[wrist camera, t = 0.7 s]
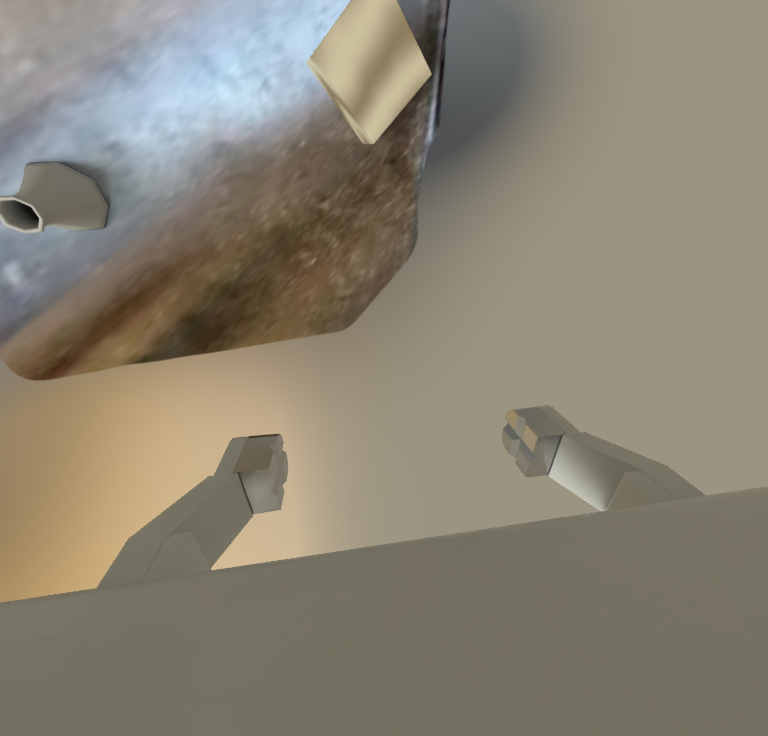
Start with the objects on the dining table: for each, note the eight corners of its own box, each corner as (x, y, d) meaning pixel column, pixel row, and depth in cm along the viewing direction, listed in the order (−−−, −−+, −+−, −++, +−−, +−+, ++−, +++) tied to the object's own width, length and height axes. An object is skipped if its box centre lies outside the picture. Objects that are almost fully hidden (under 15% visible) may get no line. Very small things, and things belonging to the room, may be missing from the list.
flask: (102, 172, 34) (61, 182, 27) (115, 237, 38) (82, 261, 30) (12, 150, 31) (-63, 155, 23) (36, 223, 35) (-23, 247, 27)
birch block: (305, 63, 34) (312, 54, 31) (364, -18, 32) (379, -38, 29) (362, 143, 41) (373, 143, 37) (414, 79, 39) (431, 74, 35)
